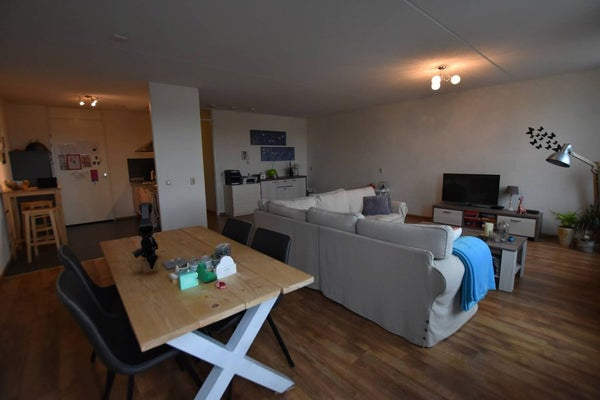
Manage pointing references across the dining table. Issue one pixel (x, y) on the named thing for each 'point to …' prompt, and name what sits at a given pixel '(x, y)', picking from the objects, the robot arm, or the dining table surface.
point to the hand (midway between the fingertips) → (149, 267)
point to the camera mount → (204, 273)
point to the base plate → (173, 263)
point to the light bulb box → (223, 249)
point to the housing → (148, 266)
